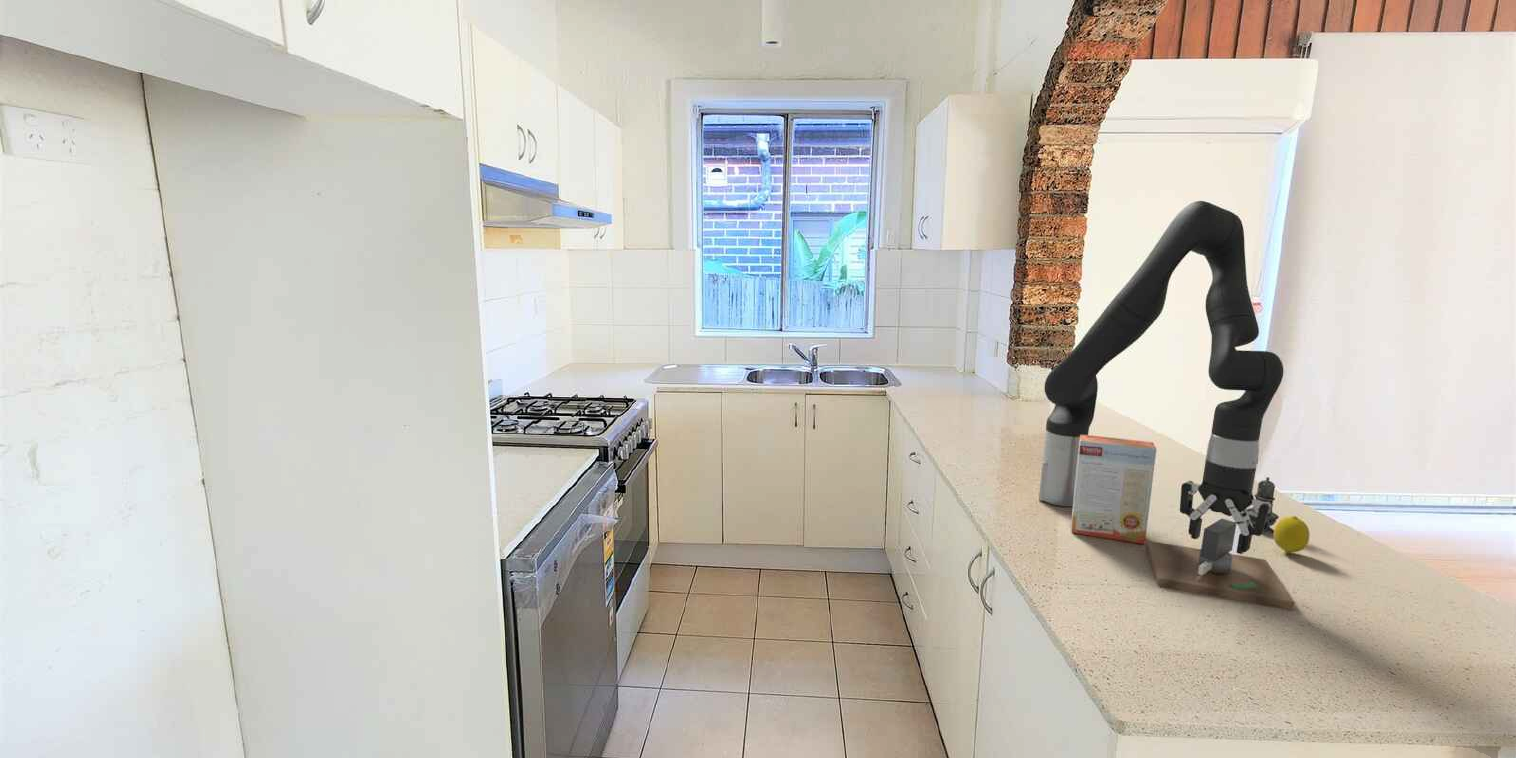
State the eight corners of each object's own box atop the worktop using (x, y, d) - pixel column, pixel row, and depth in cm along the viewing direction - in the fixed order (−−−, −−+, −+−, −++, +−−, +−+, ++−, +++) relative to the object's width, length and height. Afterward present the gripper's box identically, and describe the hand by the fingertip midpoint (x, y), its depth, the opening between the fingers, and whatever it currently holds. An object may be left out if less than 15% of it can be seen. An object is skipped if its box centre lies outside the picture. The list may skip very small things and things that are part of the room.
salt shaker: (1281, 535, 141) (1291, 482, 139) (1251, 533, 142) (1259, 480, 140) (1267, 524, 147) (1275, 473, 145) (1237, 522, 148) (1245, 471, 146)
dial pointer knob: (1207, 556, 128) (1214, 516, 126) (1237, 566, 124) (1244, 525, 122) (1184, 571, 122) (1190, 529, 120) (1215, 582, 118) (1222, 539, 116)
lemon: (1298, 549, 135) (1305, 513, 133) (1310, 561, 130) (1317, 523, 128) (1266, 545, 137) (1272, 509, 135) (1277, 557, 131) (1283, 519, 130)
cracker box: (1142, 534, 141) (1154, 440, 137) (1145, 545, 136) (1158, 448, 132) (1070, 522, 147) (1080, 432, 143) (1070, 533, 142) (1080, 439, 138)
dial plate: (1157, 585, 120) (1158, 576, 120) (1145, 547, 135) (1147, 538, 135) (1293, 610, 112) (1295, 600, 112) (1264, 566, 127) (1266, 557, 127)
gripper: (1178, 453, 123) (1166, 536, 126) (1271, 475, 111) (1256, 565, 115) (1195, 446, 127) (1183, 527, 130) (1286, 466, 116) (1271, 554, 119)
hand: (1217, 544), depth 122 cm, fingers open, 7 cm apart
